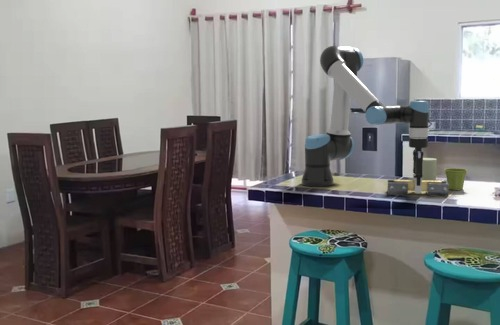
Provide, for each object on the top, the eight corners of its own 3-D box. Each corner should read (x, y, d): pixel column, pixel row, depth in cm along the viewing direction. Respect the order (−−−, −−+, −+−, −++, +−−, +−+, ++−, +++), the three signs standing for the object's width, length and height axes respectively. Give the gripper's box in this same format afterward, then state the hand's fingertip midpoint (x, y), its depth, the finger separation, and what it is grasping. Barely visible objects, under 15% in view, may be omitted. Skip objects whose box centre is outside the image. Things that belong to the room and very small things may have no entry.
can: (414, 181, 246) (415, 156, 244) (434, 181, 244) (435, 156, 242) (416, 184, 237) (417, 159, 235) (437, 185, 235) (438, 159, 233)
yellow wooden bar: (394, 190, 216) (394, 180, 216) (394, 188, 220) (394, 179, 219) (441, 191, 212) (442, 182, 211) (440, 189, 215) (441, 180, 215)
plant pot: (440, 187, 229) (441, 168, 228) (461, 187, 229) (462, 168, 228) (448, 191, 220) (448, 171, 219) (470, 190, 220) (471, 171, 218)
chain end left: (388, 194, 214) (388, 183, 214) (387, 191, 223) (387, 179, 222) (407, 195, 212) (408, 183, 212) (406, 191, 221) (406, 180, 220)
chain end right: (428, 195, 211) (428, 184, 210) (426, 192, 219) (426, 180, 218) (448, 196, 209) (449, 184, 208) (445, 192, 217) (446, 181, 216)
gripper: (430, 140, 202) (429, 196, 205) (425, 135, 222) (424, 186, 225) (410, 140, 203) (409, 195, 206) (407, 135, 224) (406, 186, 227)
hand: (417, 190), depth 216 cm, fingers open, 9 cm apart
